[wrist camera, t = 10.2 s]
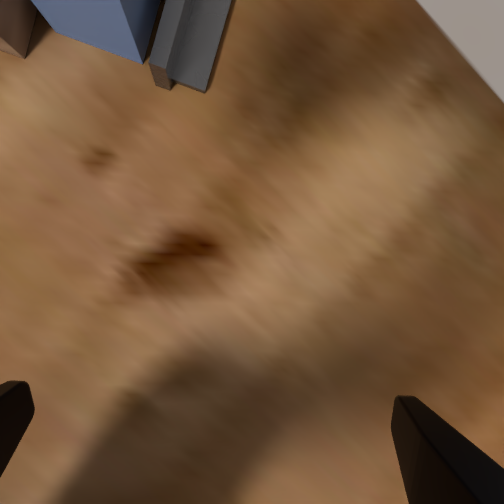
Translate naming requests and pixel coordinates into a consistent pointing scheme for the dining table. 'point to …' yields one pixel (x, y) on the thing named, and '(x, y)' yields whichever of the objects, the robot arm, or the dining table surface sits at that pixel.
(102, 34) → the book
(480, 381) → the dining table surface
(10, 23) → the rack
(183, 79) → the bookend
